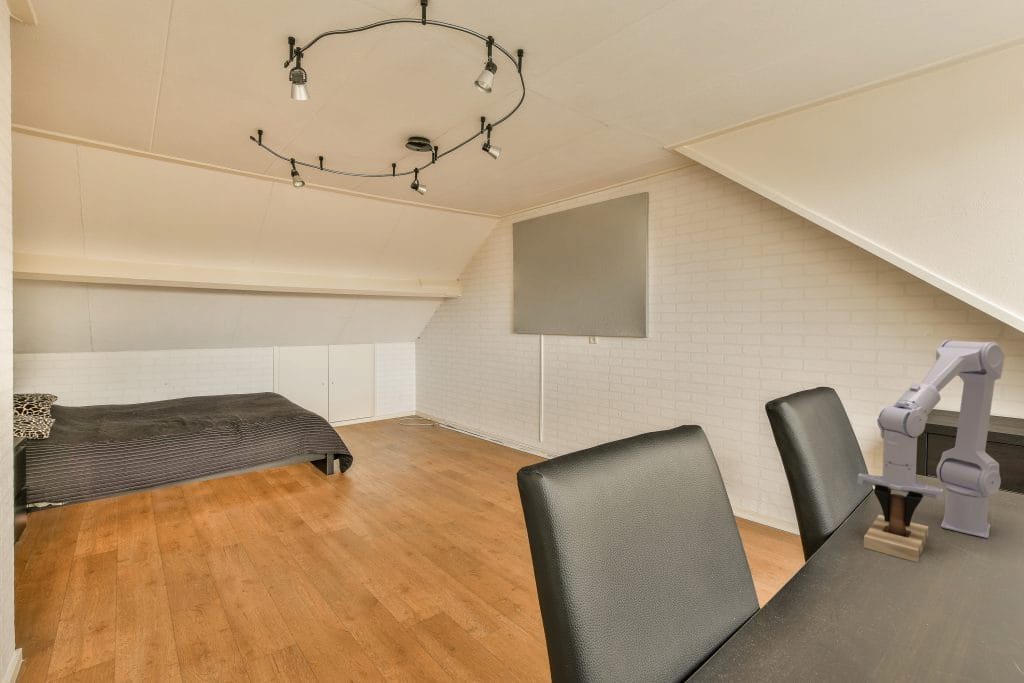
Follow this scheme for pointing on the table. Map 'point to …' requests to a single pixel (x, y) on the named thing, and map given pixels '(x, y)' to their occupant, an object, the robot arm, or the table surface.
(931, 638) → the table surface
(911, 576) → the table surface
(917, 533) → the socket block
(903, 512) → the peg
